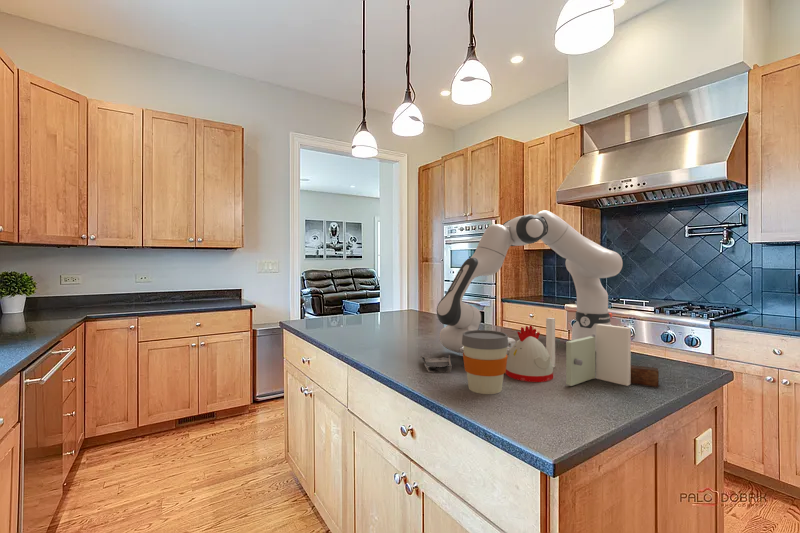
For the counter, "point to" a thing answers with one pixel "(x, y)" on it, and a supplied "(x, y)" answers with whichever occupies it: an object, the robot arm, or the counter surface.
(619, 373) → the door frame
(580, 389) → the counter surface
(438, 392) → the counter surface
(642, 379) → the brick
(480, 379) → the reusable coffee cup
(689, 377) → the counter surface
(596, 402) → the counter surface
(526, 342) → the kitchen timer
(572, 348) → the door
